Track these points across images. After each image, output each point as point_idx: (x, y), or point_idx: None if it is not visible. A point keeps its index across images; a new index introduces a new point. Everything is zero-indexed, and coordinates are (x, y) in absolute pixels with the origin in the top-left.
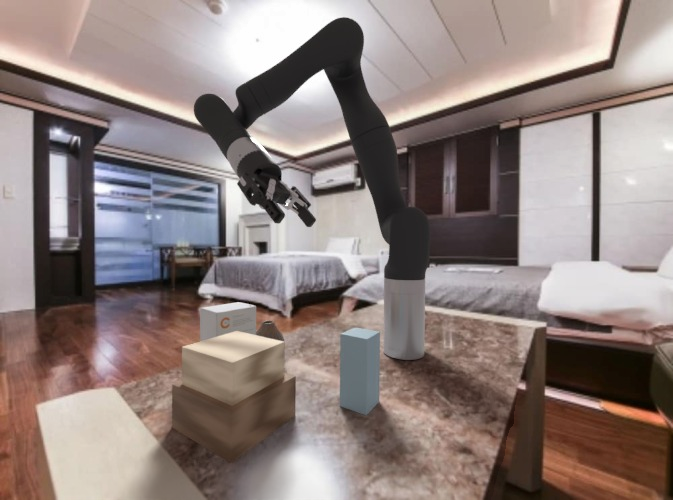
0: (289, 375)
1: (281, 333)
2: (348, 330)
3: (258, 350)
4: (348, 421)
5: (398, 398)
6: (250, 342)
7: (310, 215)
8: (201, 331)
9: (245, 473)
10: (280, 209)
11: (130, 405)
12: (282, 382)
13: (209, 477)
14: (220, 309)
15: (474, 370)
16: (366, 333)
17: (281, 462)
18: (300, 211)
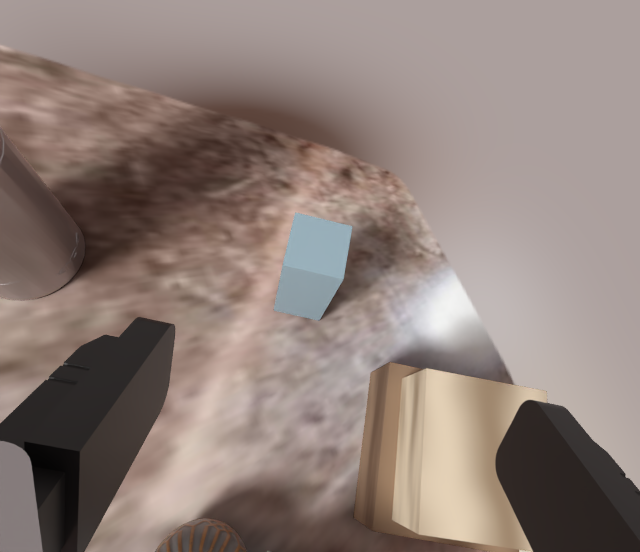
0: (393, 373)
1: (173, 548)
2: (312, 271)
3: (487, 387)
4: (350, 297)
5: (262, 243)
6: (465, 432)
7: (156, 352)
8: None
9: (481, 369)
10: (576, 435)
11: None
12: (420, 370)
13: None
14: None
15: (107, 132)
16: (318, 233)
17: (451, 342)
18: (85, 511)
